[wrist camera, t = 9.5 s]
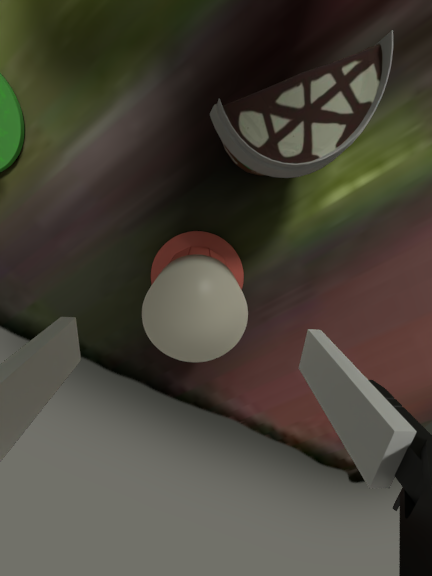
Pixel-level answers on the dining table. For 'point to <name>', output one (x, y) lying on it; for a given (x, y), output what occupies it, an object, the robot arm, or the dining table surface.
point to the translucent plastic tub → (9, 125)
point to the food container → (305, 115)
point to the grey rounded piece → (195, 309)
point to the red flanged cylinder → (198, 252)
